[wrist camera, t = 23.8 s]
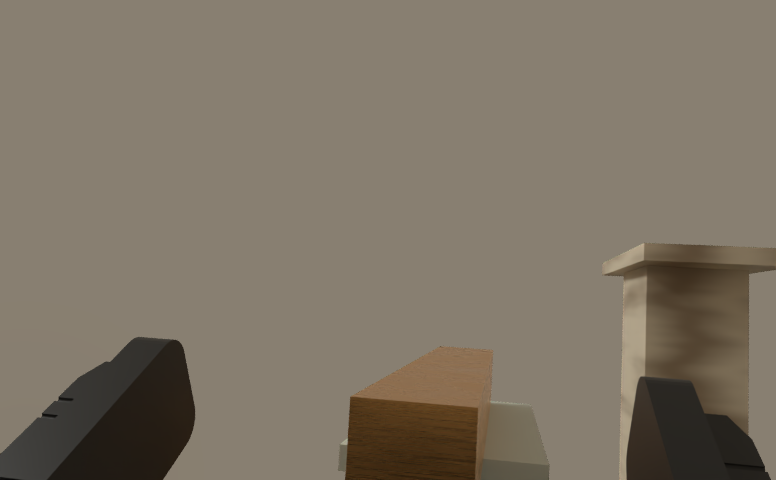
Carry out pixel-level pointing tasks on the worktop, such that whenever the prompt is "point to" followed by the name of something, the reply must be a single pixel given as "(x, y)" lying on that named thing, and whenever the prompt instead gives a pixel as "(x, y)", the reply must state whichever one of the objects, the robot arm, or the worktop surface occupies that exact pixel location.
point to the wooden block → (423, 419)
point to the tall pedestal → (687, 323)
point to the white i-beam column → (505, 445)
